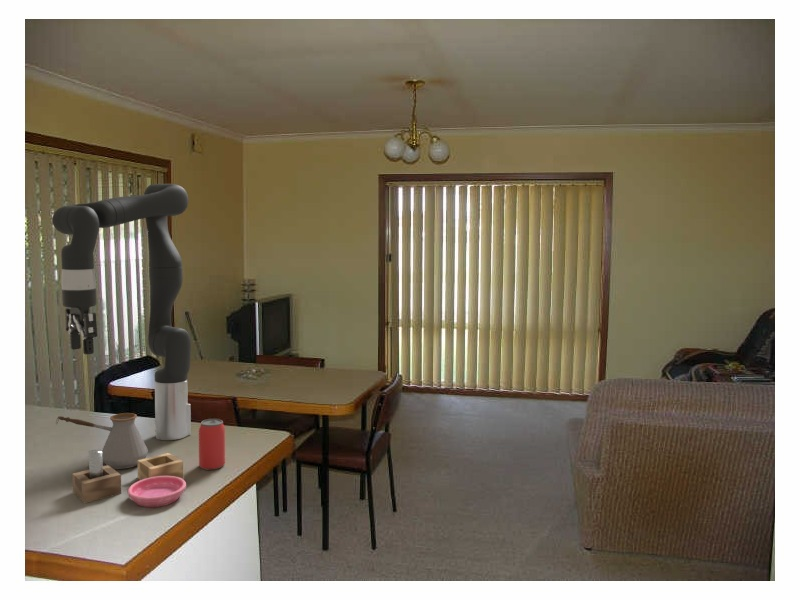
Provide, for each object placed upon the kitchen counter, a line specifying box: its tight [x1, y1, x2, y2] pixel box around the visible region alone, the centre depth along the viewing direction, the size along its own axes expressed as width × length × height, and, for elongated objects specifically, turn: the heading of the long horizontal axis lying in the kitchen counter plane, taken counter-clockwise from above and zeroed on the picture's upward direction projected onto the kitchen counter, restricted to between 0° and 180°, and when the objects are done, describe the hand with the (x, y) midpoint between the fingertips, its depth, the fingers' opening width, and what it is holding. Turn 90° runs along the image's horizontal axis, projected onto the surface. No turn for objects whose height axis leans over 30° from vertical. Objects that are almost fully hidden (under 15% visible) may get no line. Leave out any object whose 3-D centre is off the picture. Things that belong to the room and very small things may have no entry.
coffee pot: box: [55, 412, 149, 470], centre depth 156 cm, size 21×12×15 cm, turn 123°
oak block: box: [137, 452, 184, 481], centre depth 150 cm, size 8×8×4 cm
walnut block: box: [71, 465, 122, 504], centre depth 141 cm, size 8×8×4 cm
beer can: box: [198, 418, 226, 471], centre depth 159 cm, size 7×7×12 cm
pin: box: [88, 448, 104, 479], centre depth 141 cm, size 3×3×10 cm
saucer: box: [127, 476, 187, 508], centre depth 139 cm, size 12×12×3 cm
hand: (82, 351), depth 151 cm, fingers open, 8 cm apart
